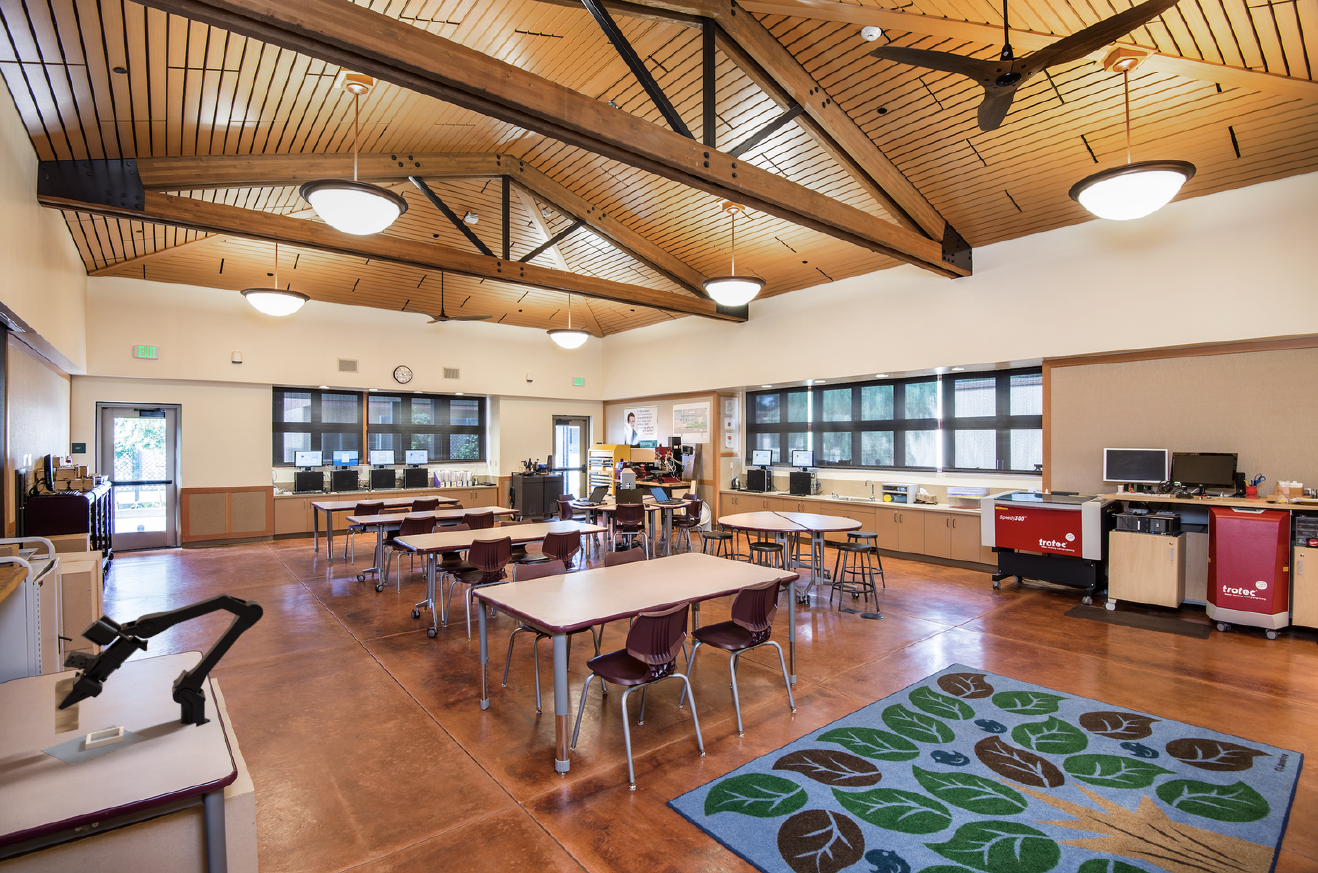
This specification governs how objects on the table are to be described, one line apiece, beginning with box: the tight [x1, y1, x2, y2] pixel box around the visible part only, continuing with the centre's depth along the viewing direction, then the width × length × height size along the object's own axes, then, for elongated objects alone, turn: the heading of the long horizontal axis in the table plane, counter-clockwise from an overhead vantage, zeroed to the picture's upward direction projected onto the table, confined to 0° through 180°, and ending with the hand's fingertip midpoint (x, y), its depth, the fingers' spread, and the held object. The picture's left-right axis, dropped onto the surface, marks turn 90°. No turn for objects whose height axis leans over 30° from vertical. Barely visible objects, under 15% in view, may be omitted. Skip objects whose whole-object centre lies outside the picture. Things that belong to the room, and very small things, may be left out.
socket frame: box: [85, 725, 125, 750], centre depth 171 cm, size 8×8×2 cm
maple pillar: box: [54, 676, 81, 735], centre depth 166 cm, size 4×4×13 cm
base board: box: [40, 725, 148, 767], centre depth 169 cm, size 18×16×1 cm
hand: (60, 706), depth 166 cm, fingers closed on maple pillar, 4 cm apart
